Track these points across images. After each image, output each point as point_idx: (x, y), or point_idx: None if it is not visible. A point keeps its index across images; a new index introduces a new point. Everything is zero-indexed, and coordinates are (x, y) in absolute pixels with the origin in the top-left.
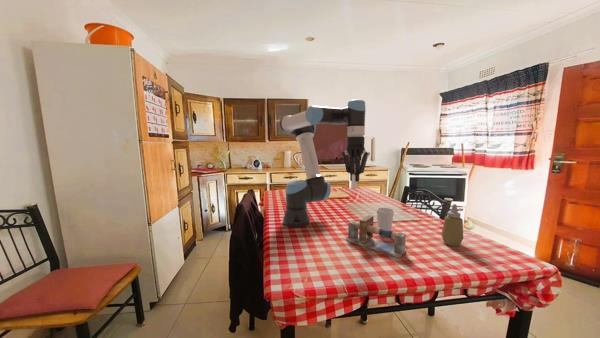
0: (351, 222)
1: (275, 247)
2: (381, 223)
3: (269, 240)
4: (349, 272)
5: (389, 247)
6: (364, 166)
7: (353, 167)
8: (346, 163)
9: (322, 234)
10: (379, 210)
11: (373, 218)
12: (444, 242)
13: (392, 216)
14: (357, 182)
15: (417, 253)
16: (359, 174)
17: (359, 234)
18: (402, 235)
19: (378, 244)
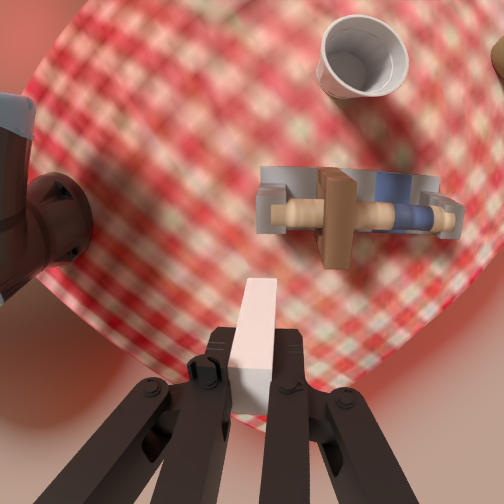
0: (266, 224)
1: (157, 363)
2: (350, 95)
3: (120, 347)
4: (346, 353)
5: (401, 201)
6: (390, 473)
7: (217, 463)
8: (124, 499)
9: (174, 238)
10: (326, 41)
11: (354, 180)
12: (495, 68)
13: (397, 68)
14: (275, 307)
15: (460, 175)
16: (306, 384)
17: (317, 243)
18: (459, 227)
19: (368, 200)
